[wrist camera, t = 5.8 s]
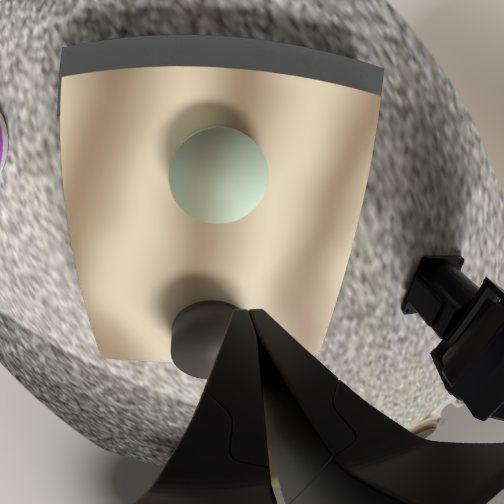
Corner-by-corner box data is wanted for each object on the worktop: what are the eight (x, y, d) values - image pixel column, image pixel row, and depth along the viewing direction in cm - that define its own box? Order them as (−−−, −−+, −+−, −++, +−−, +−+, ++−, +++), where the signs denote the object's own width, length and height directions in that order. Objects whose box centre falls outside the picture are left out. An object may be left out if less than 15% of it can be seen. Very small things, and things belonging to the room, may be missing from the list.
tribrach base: (360, 70, 16) (383, 68, 13) (314, 312, 25) (325, 335, 22) (81, 53, 13) (62, 47, 10) (100, 313, 22) (92, 338, 19)
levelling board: (367, 95, 14) (403, 97, 11) (312, 341, 22) (326, 374, 19) (73, 78, 11) (42, 75, 8) (105, 343, 20) (96, 379, 17)
